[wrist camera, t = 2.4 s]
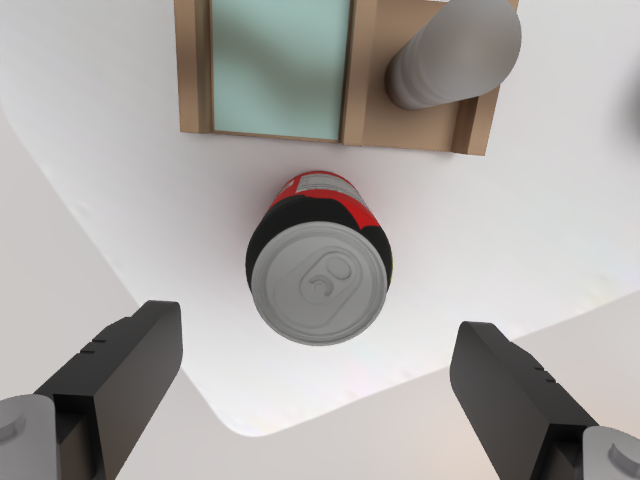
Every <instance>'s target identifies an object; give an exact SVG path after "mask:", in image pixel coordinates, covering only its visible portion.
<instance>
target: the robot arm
mask: <svg viewBox="0 0 640 480" xmlns="http://www.w3.org/2000/svg"><path fill="white" fill-rule="evenodd" d="M182 355H183V344H182V326H181V309H180V305H179V303H178V302H171V301H155V300H149V301H147V302H146V303H145V304H144V305H143V306H142V307H141V308H140V309H139V310H138V311H137V312H136V313H134V314H133V315H132V316H131V317H124V318H122V319H120V320H119V321H117V322H115V323H113V324H111V325H109V326H107V327H106V328H105V329H104V330H102V331H101V332H100V333H99V334H98V335H97V336H96V337H95V338H94V339H92V342H89V343H88V344H87V345H86V346H85V347H84V348H82V349H81V351H80V353H77V354H76V355H75V356H74V357H73V358H71V359H70V360H69V361H68V362H67V363H66V364H65V365H64V366H63V367H61V368H60V370H58V371H57V372H56V373H55V374H54V375H53V376H52V377H51V378H49V379H48V380H47V381H46V382H45V383H44V384H43V385H42V386H41V387H40V388H38V390H36V391H35V392H34V393H33V394H29V395H20V396H15V397H11V398H7V399H4V400H1V401H0V480H115V478H116V477H117V475H118V473H119V472H120V470H121V468H122V466H123V465H124V463H125V461H126V460H127V458H128V456H129V455H130V453H131V451H132V449H133V448H134V446H135V444H136V443H137V441H138V439H139V438H140V436H141V434H142V432H143V431H144V429H145V427H146V426H147V424H148V422H149V421H150V419H151V417H152V416H153V414H154V412H155V410H156V409H157V407H158V405H159V404H160V402H161V400H162V399H163V396H164V395H165V393H166V392H167V390H168V388H169V387H170V385H171V383H172V382H173V380H174V378H175V376H176V375H177V373H178V371H179V368H180V365H181V361H182ZM450 381H451V386H452V389H453V391H454V393H455V395H456V397H457V399H458V401H459V402H460V404H461V406H462V408H463V410H464V412H465V414H466V416H467V418H468V419H469V421H470V423H471V425H472V427H473V429H474V431H475V433H476V435H477V436H478V438H479V440H480V442H481V444H482V446H483V448H484V450H485V452H486V453H487V455H488V457H489V459H490V461H491V463H492V465H493V467H494V469H495V471H496V472H497V474H498V476H499V478H500V480H640V440H639V439H637V438H635V437H634V436H631V435H629V434H627V433H624V432H622V431H619V430H616V429H613V428H609V427H604V426H599V424H598V423H597V422H596V421H595V420H594V419H593V418H592V417H591V416H590V415H589V414H588V413H587V412H586V411H585V410H584V409H583V408H582V407H581V406H580V405H579V404H578V403H577V402H576V401H575V400H574V399H573V398H572V397H571V396H570V394H569V393H568V392H567V391H566V390H565V389H564V388H563V387H562V386H561V385H560V384H559V383H556V380H555V379H554V378H553V377H552V376H551V375H550V374H549V373H548V372H547V371H544V368H543V367H542V366H541V364H540V363H539V362H538V361H537V360H536V359H535V358H534V357H533V356H532V355H531V354H529V353H528V352H526V351H525V350H523V349H522V348H520V347H519V346H517V345H516V344H514V343H513V342H510V341H509V340H508V339H507V338H506V337H505V336H504V335H503V334H502V333H501V332H500V330H499V329H498V328H497V327H496V326H495V325H494V324H492V323H485V322H469V321H464V322H462V323H461V325H460V327H459V330H458V335H457V339H456V343H455V348H454V352H453V356H452V361H451V365H450Z"/></svg>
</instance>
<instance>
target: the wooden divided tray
mask: <svg viewBox="0 0 640 480" xmlns="http://www.w3.org/2000/svg"><path fill="white" fill-rule="evenodd" d="M518 2H519V0H450V1H449V2H438V1H427V0H174V13H175V33H176V53H177V73H178V93H179V113H180V132H187V133H216V134H228V135H241V136H254V137H266V138H279V139H292V140H304V141H317V142H330V143H341V144H343V145H352V146H361V145H368V146H381V147H393V148H406V149H419V150H432V151H444V152H454V153H460V154H467V155H480V156H485V152H486V147H487V143H488V138H489V133H490V129H491V124H492V120H493V115H494V111H495V106H496V102H497V97H498V93H499V88H500V84H501V83H502V82H503V81H504V80H505V78H506V77H507V76H508V75H509V73H510V72H511V70H512V69H513V67H514V65H515V63H516V60H517V58H518V55H519V52H520V47H521V37H522V36H521V26H520V21H519V18H518V15H517V13H516V11H517V7H518Z"/></svg>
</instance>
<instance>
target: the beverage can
mask: <svg viewBox="0 0 640 480" xmlns="http://www.w3.org/2000/svg"><path fill="white" fill-rule="evenodd" d="M245 266H246V276H247V282H248V285H249V288H250V291H251V293H252V296H253V300H254V303H255V306H256V308H257V310H258V312H259V314H260V315H261V317H262V318H263V320H264V321H265V322H266V323H267V324H268V325H269V326H270V327H271V328H272V329H273V330H274V331H275V332H277V333H278V334H280V335H281V336H283V337H285V338H287V339H289V340H291V341H294V342H297V343H300V344H304V345H310V346H328V345H334V344H338V343H342V342H345V341H347V340H349V339H352V338H354V337H355V336H357V335H359V334H360V333H362V332H363V331H364V330H365V329H367V328H368V327H369V326H370V325H371V324H372V323H373V321H374V320H375V319H376V317H377V316H378V314H379V313H380V311H381V309H382V307H383V304H384V301H385V298H386V294H387V291H388V289H389V286H390V282H391V278H392V269H393V258H392V252H391V247H390V244H389V241H388V239H387V237H386V235H385V233H384V231H383V229H382V228H381V226H380V225H379V223H378V222H377V220H376V219H375V217H374V216H373V214H372V213H371V211H370V210H369V208H368V207H367V205H366V204H365V202H364V201H363V199H362V198H361V196H360V195H359V193H358V192H357V190H356V189H355V188H354V186H353V185H352V184H351V183H349V182H348V181H347V180H346V179H344V178H343V177H341V176H339V175H336V174H334V173H330V172H325V171H312V172H307V173H304V174H301V175H299V176H297V177H295V178H293V179H292V180H290V181H289V182H288V183H287V184H286V185H285V186H284V187H283V188H282V189H281V191H280V192H279V194H278V195H277V197H276V199H275V200H274V202H273V203H272V205H271V206H270V208H269V210H268V211H267V213H266V214H265V216H264V217H263V219H262V221H261V222H260V224H259V225H258V227H257V228H256V230H255V232H254V233H253V235H252V237H251V240H250V242H249V245H248V249H247V253H246V263H245Z"/></svg>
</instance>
